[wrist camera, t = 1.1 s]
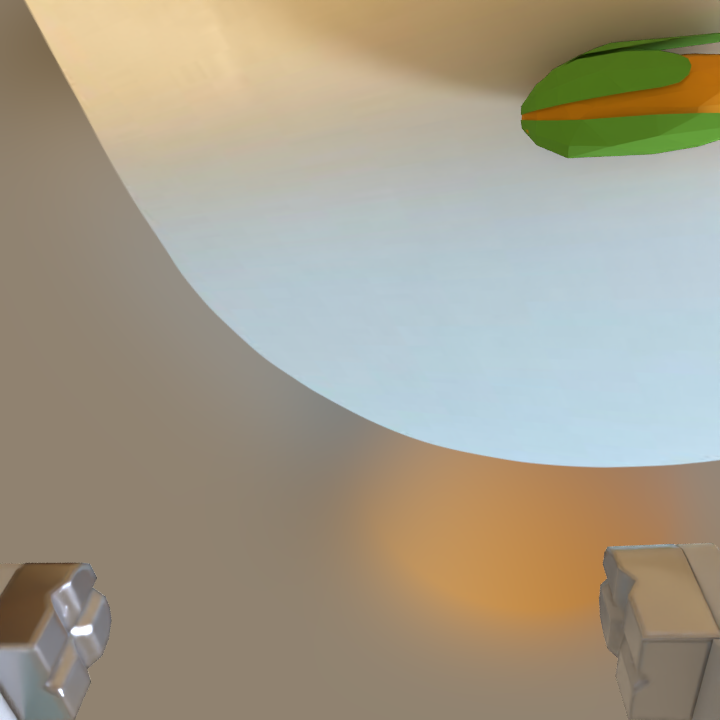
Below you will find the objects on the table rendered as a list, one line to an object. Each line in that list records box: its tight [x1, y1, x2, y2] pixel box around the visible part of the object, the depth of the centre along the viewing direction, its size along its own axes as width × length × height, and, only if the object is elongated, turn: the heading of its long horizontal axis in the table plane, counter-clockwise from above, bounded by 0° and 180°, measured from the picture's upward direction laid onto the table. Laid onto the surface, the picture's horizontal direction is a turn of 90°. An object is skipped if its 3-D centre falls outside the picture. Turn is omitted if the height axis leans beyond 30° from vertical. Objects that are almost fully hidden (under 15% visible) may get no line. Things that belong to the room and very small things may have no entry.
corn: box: [521, 33, 720, 158], centre depth 46 cm, size 7×8×20 cm
